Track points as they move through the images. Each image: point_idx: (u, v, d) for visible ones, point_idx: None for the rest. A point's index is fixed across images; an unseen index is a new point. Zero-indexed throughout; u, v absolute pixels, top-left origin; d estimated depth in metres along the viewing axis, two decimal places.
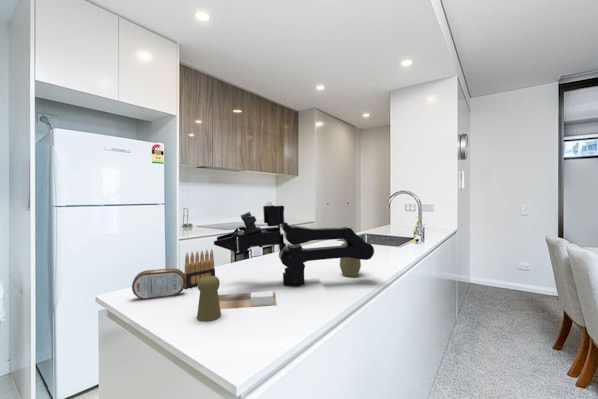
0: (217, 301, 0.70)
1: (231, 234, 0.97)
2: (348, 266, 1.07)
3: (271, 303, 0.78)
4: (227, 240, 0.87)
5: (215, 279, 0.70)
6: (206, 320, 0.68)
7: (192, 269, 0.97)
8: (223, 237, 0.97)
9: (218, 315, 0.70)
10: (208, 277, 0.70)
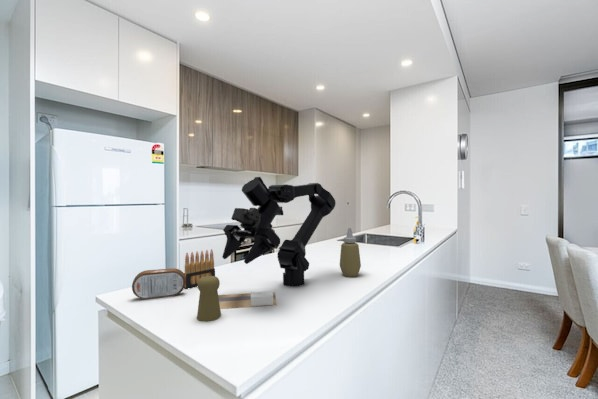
0: (217, 301, 0.70)
1: (230, 242, 0.82)
2: (348, 266, 1.07)
3: (271, 303, 0.78)
4: (255, 249, 0.75)
5: (215, 279, 0.70)
6: (206, 320, 0.68)
7: (192, 269, 0.97)
8: (227, 251, 0.81)
9: (218, 315, 0.70)
10: (208, 277, 0.70)
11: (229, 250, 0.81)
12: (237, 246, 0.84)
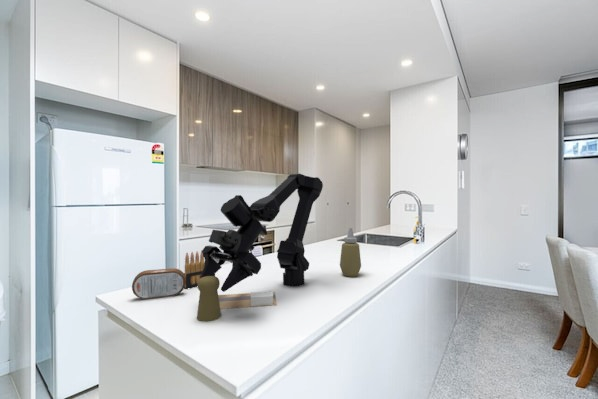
0: (217, 301, 0.70)
1: (208, 265, 0.76)
2: (348, 266, 1.07)
3: (271, 303, 0.78)
4: (233, 275, 0.69)
5: (215, 279, 0.70)
6: (206, 320, 0.68)
7: (192, 269, 0.97)
8: None
9: (218, 315, 0.70)
10: (208, 277, 0.70)
11: (207, 274, 0.76)
12: (216, 269, 0.78)
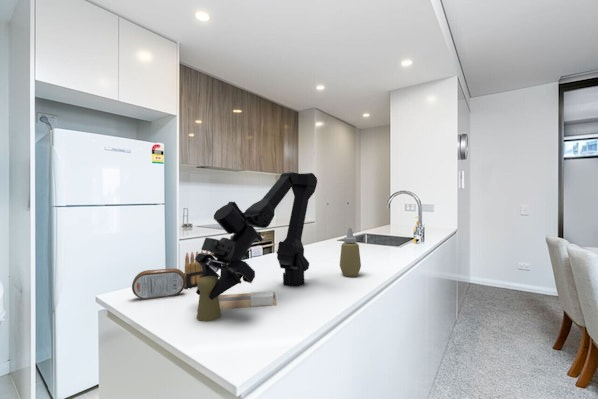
0: (217, 301, 0.70)
1: (206, 275, 0.74)
2: (348, 266, 1.07)
3: (271, 303, 0.78)
4: (222, 283, 0.69)
5: (215, 279, 0.70)
6: (206, 320, 0.68)
7: (192, 269, 0.97)
8: None
9: (218, 315, 0.70)
10: (208, 277, 0.70)
11: None
12: None
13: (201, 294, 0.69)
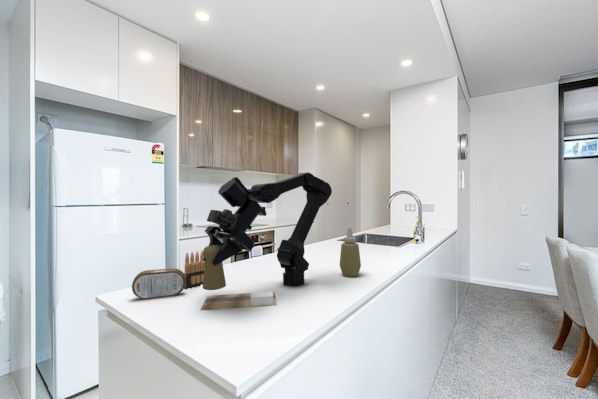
0: (221, 267, 0.76)
1: (212, 244, 0.80)
2: (348, 266, 1.07)
3: (271, 303, 0.78)
4: (224, 250, 0.75)
5: (218, 247, 0.76)
6: (210, 284, 0.75)
7: (192, 269, 0.97)
8: None
9: (221, 280, 0.76)
10: (212, 245, 0.77)
11: None
12: None
13: (206, 261, 0.76)
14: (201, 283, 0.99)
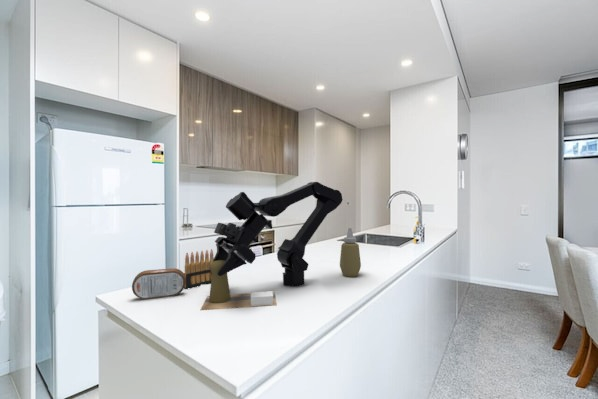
0: (225, 282, 0.81)
1: (218, 254, 0.86)
2: (348, 266, 1.07)
3: (271, 303, 0.78)
4: (228, 262, 0.79)
5: (223, 263, 0.81)
6: (214, 297, 0.80)
7: (192, 269, 0.97)
8: None
9: (225, 294, 0.81)
10: (219, 261, 0.82)
11: None
12: (226, 258, 0.88)
13: (212, 275, 0.81)
14: (201, 283, 0.99)
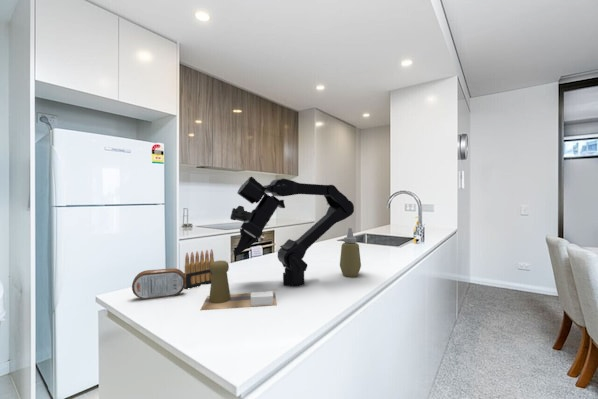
0: (225, 282, 0.81)
1: None
2: (348, 266, 1.07)
3: (271, 303, 0.78)
4: (241, 241, 0.83)
5: (223, 263, 0.81)
6: (214, 297, 0.80)
7: (192, 269, 0.97)
8: None
9: (225, 295, 0.81)
10: (218, 261, 0.82)
11: None
12: None
13: (212, 275, 0.81)
14: (201, 283, 0.99)
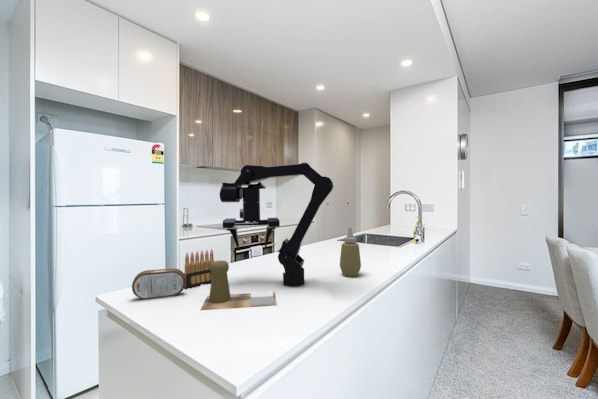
0: (225, 282, 0.81)
1: None
2: (348, 266, 1.07)
3: (271, 303, 0.78)
4: None
5: (223, 263, 0.81)
6: (214, 297, 0.80)
7: (192, 269, 0.97)
8: None
9: (225, 295, 0.81)
10: (218, 261, 0.82)
11: (265, 239, 0.99)
12: (266, 232, 0.97)
13: (212, 275, 0.81)
14: (201, 283, 0.99)
